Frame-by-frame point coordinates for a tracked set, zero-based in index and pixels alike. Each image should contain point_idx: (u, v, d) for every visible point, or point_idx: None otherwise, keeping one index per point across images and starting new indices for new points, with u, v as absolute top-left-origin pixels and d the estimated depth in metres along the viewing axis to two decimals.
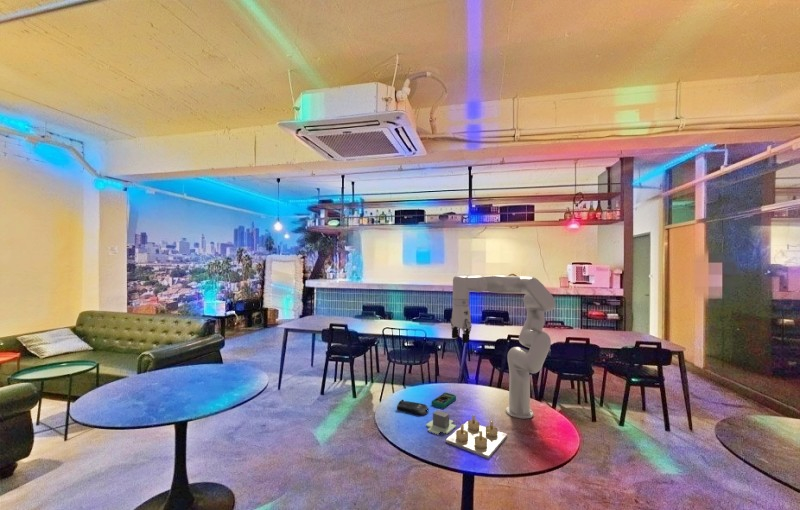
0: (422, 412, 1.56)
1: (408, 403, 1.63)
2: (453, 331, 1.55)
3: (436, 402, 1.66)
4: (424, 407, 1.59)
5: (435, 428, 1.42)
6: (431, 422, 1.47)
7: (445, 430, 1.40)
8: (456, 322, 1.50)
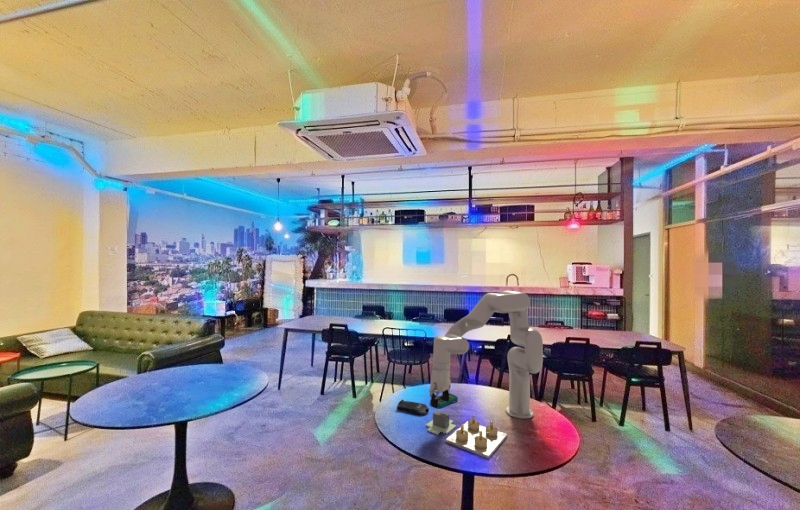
0: (422, 412, 1.56)
1: (408, 403, 1.63)
2: None
3: None
4: (424, 407, 1.59)
5: (435, 428, 1.42)
6: (431, 422, 1.47)
7: (445, 430, 1.40)
8: (445, 386, 1.44)
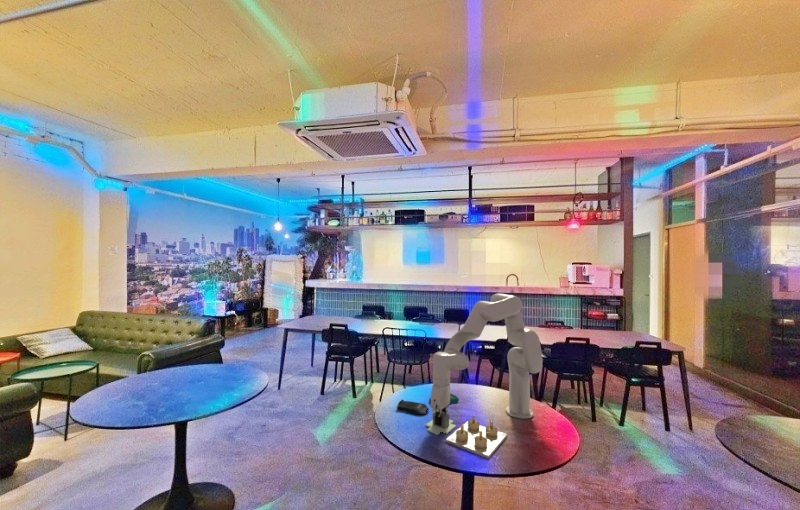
0: (422, 412, 1.56)
1: (408, 403, 1.64)
2: None
3: None
4: (424, 407, 1.59)
5: (435, 428, 1.42)
6: (431, 422, 1.47)
7: (445, 430, 1.40)
8: (445, 402, 1.44)
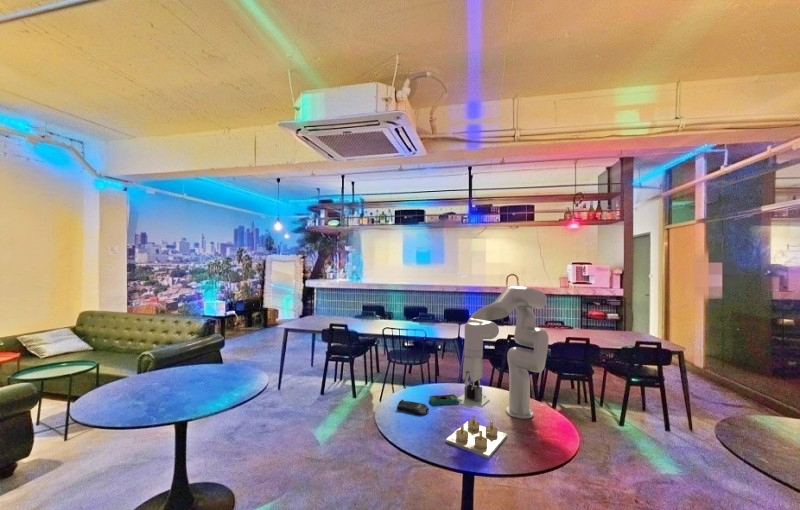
0: (422, 412, 1.56)
1: (408, 403, 1.64)
2: None
3: (430, 398, 1.71)
4: (424, 407, 1.59)
5: (467, 402, 1.33)
6: (462, 396, 1.39)
7: (478, 403, 1.32)
8: (478, 374, 1.35)
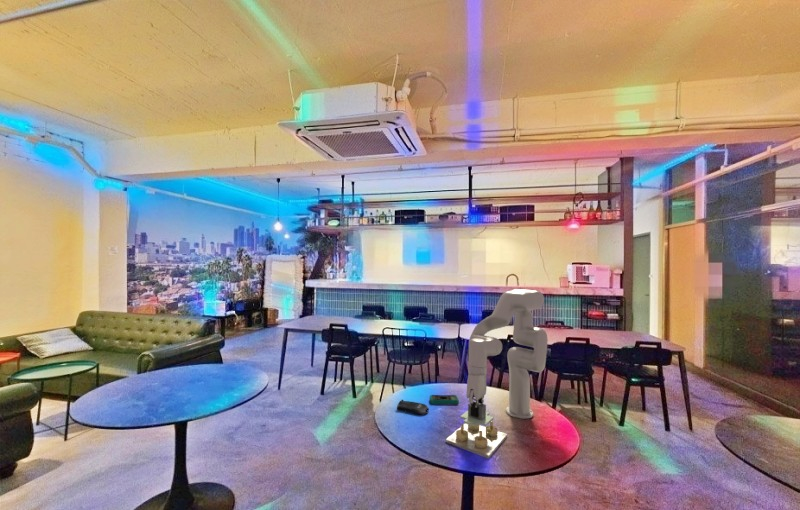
0: (422, 412, 1.56)
1: (408, 403, 1.64)
2: None
3: (430, 397, 1.73)
4: (424, 407, 1.59)
5: (471, 420, 1.32)
6: (466, 413, 1.37)
7: (483, 422, 1.30)
8: (482, 392, 1.34)
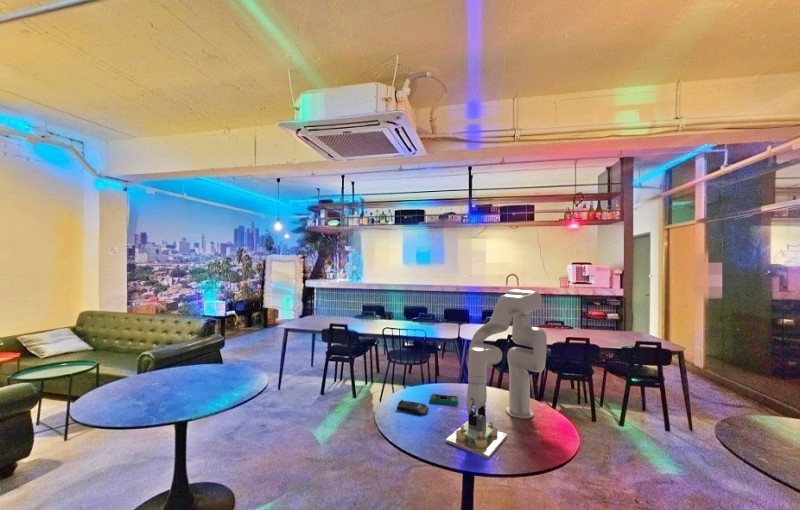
0: (422, 412, 1.56)
1: (408, 403, 1.63)
2: None
3: None
4: (424, 407, 1.59)
5: (472, 432, 1.32)
6: (466, 425, 1.37)
7: (483, 434, 1.30)
8: (482, 401, 1.34)
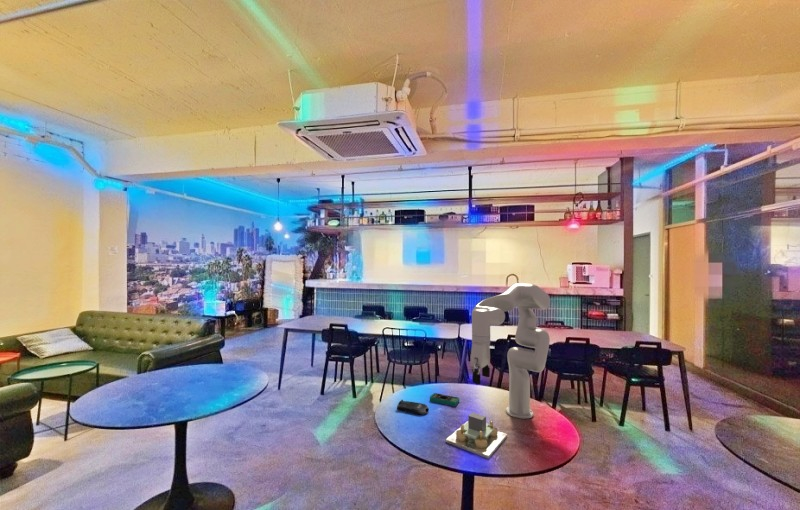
0: (422, 412, 1.56)
1: (408, 403, 1.63)
2: None
3: (432, 394, 1.76)
4: (424, 407, 1.59)
5: (472, 432, 1.32)
6: (466, 425, 1.37)
7: (483, 434, 1.30)
8: (486, 360, 1.36)
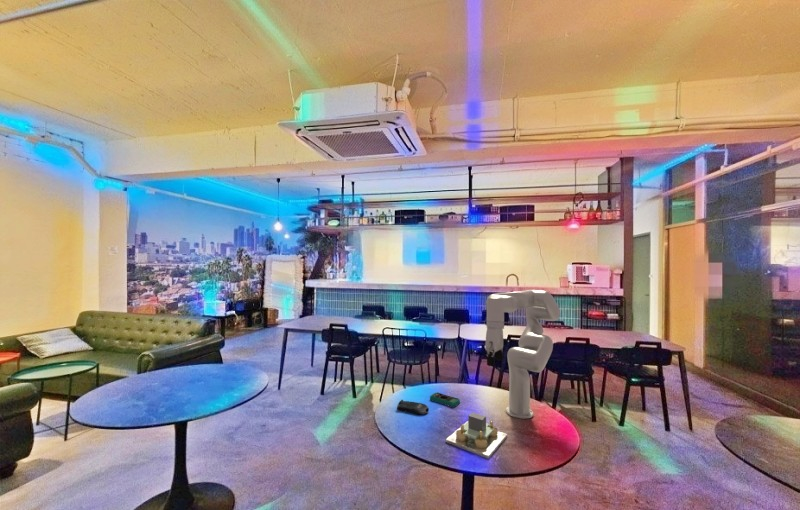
0: (423, 412, 1.56)
1: (408, 403, 1.63)
2: None
3: None
4: (424, 407, 1.60)
5: (472, 432, 1.32)
6: (466, 425, 1.37)
7: (483, 434, 1.30)
8: (500, 345, 1.45)
